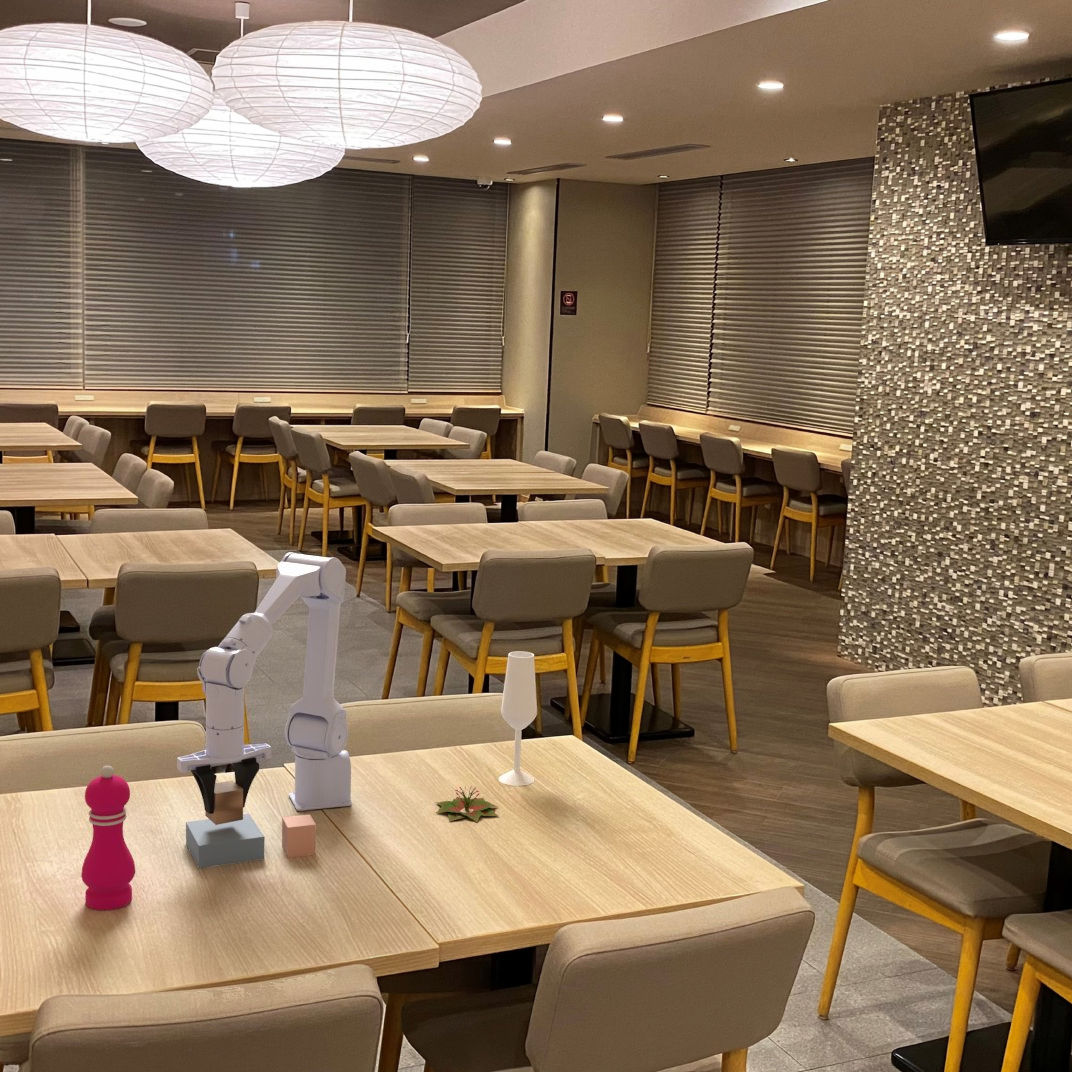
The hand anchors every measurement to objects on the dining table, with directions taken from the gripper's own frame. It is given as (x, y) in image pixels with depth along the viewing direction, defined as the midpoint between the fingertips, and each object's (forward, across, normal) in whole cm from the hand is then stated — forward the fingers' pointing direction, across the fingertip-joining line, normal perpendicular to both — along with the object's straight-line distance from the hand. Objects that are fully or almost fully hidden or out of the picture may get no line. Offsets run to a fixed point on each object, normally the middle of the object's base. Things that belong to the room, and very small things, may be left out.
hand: (224, 808), depth 195 cm
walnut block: (+2, 0, 0) cm, 2 cm away
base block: (+7, 0, 0) cm, 7 cm away
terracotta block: (+7, -10, +5) cm, 13 cm away
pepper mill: (+7, +20, +8) cm, 23 cm away
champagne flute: (+7, -59, -5) cm, 59 cm away
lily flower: (+8, -42, +4) cm, 43 cm away
